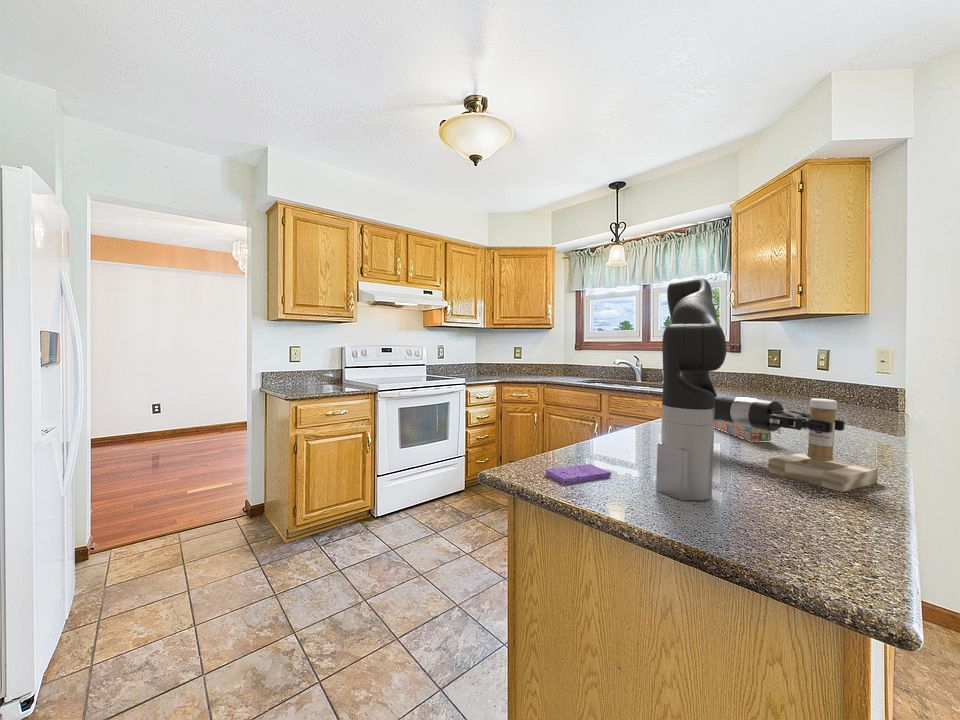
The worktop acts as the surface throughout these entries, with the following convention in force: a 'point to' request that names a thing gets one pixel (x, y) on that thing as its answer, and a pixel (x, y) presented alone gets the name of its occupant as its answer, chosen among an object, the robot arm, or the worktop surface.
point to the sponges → (577, 473)
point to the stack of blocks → (743, 431)
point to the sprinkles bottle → (820, 440)
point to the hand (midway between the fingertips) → (837, 426)
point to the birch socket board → (823, 472)
